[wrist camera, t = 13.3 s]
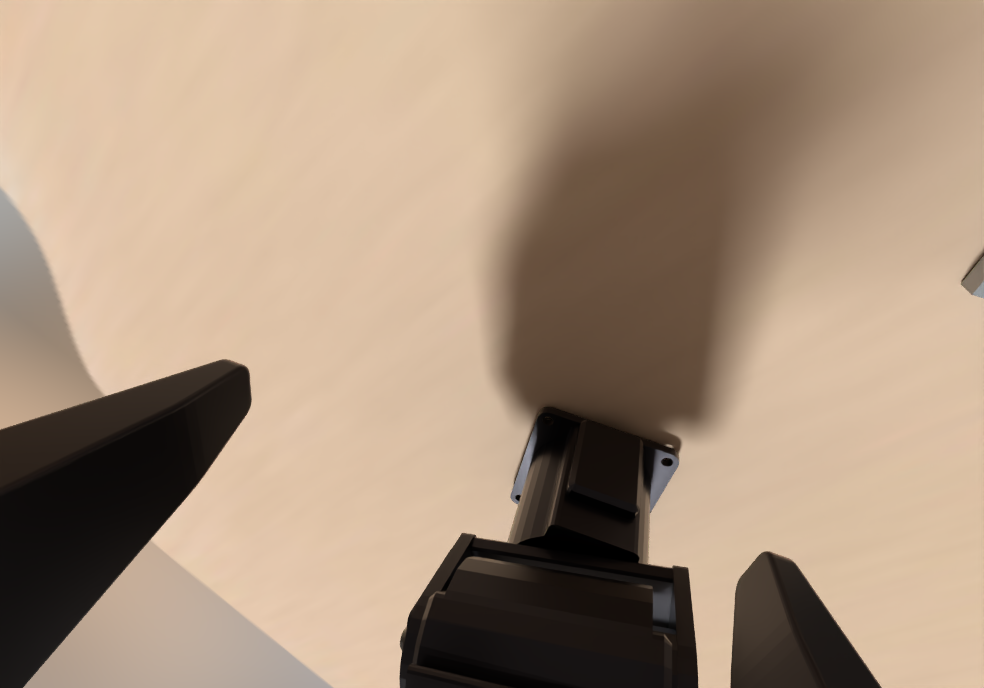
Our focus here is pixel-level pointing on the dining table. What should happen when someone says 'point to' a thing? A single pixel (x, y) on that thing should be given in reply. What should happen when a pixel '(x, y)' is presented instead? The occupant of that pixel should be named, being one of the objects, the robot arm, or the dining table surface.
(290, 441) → the dining table surface
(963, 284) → the dish rack
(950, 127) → the dining table surface
